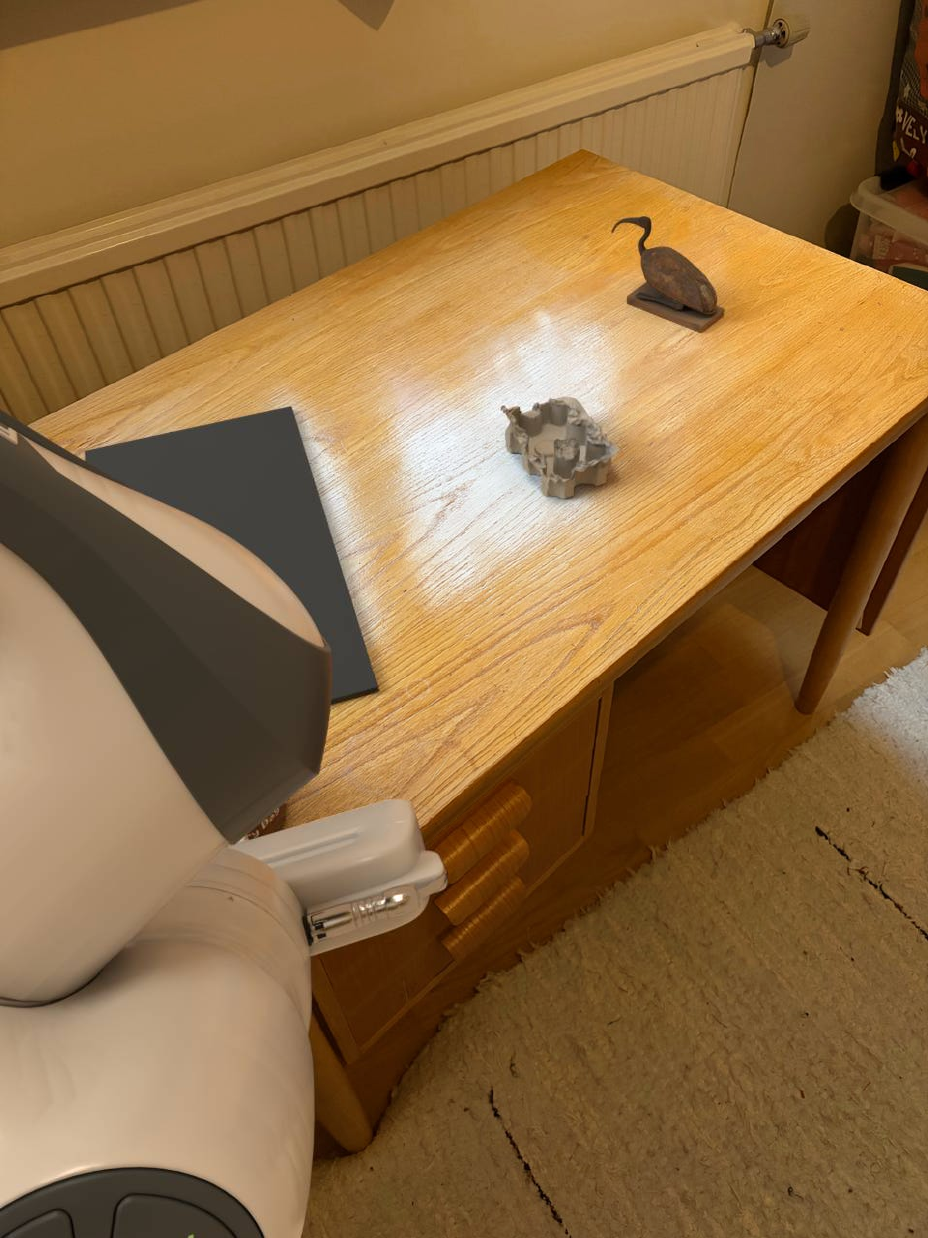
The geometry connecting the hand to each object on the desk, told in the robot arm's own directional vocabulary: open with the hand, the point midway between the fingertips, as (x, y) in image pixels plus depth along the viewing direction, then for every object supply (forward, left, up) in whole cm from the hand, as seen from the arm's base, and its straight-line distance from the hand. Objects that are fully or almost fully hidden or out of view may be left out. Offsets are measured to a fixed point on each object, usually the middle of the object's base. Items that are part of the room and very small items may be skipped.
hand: (223, 853), depth 47 cm
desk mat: (+1, +33, -10) cm, 34 cm away
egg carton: (+33, +35, -10) cm, 49 cm away
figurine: (+53, +56, -10) cm, 78 cm away
